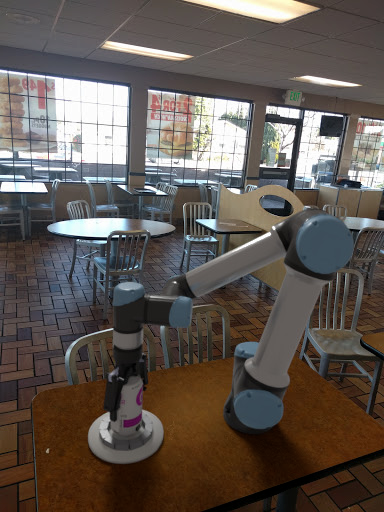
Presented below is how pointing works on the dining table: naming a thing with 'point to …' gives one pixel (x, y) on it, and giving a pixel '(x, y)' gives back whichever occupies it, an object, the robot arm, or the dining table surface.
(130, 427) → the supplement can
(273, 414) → the robot arm
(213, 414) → the dining table surface
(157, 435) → the round tray
